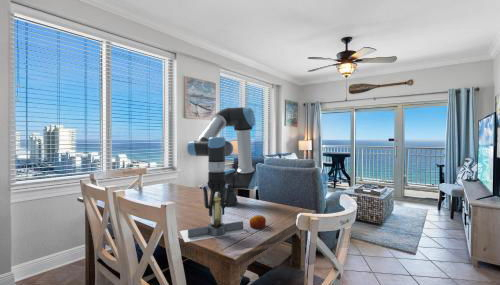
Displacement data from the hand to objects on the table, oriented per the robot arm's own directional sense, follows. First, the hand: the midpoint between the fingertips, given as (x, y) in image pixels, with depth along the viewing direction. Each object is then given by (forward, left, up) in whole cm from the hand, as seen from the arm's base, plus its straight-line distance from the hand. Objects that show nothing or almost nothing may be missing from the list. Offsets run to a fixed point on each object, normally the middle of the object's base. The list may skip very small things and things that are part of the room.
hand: (216, 222), depth 116 cm
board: (-3, -1, -6) cm, 7 cm away
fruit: (0, +21, -6) cm, 22 cm away
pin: (0, 0, -2) cm, 2 cm away
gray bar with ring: (0, 0, -5) cm, 5 cm away
